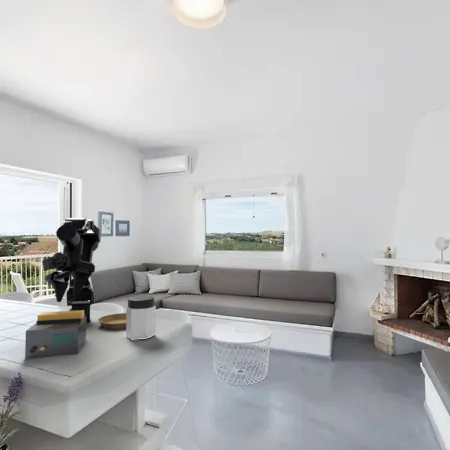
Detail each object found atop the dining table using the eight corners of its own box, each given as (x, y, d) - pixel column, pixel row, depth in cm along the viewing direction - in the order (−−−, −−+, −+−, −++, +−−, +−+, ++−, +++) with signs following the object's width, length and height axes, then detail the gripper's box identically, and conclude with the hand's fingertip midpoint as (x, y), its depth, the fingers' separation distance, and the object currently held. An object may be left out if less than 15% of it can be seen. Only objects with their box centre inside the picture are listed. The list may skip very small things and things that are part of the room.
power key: (42, 319, 92) (42, 312, 92) (84, 316, 95) (84, 310, 95) (37, 322, 88) (37, 315, 88) (81, 320, 91) (81, 313, 91)
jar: (156, 332, 103) (157, 295, 104) (153, 340, 95) (154, 300, 96) (128, 333, 102) (129, 295, 103) (123, 341, 94) (123, 300, 95)
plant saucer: (115, 333, 103) (116, 325, 103) (88, 326, 111) (89, 319, 111) (149, 323, 115) (149, 316, 115) (123, 318, 123) (123, 311, 123)
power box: (40, 343, 92) (41, 316, 93) (86, 340, 95) (86, 314, 96) (23, 360, 80) (24, 328, 80) (76, 355, 83) (77, 325, 83)
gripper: (33, 254, 104) (24, 302, 97) (65, 238, 95) (58, 289, 88) (65, 261, 112) (59, 305, 106) (97, 247, 103) (93, 294, 97)
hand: (66, 299), depth 99 cm, fingers open, 9 cm apart
